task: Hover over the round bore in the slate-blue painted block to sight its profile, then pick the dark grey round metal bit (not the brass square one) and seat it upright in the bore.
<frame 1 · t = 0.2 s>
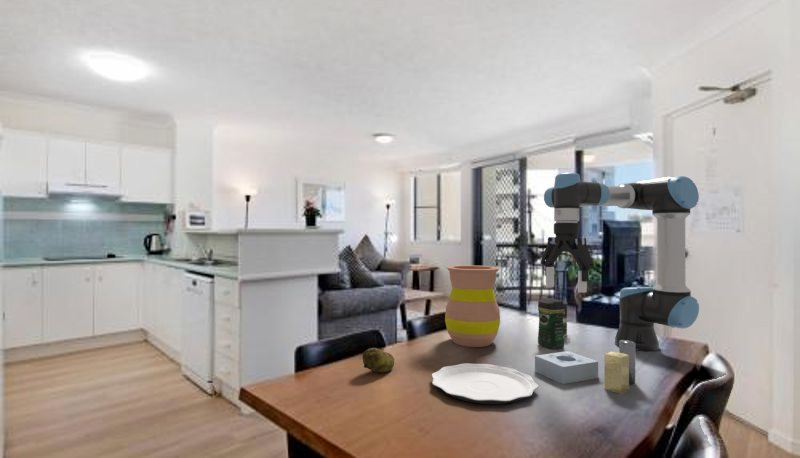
hand: (565, 289, 133), 26 cm above the table, fingers open, 13 cm apart
plate: (483, 388, 120), on the table
coffee jar: (550, 346, 163), on the table
bore block: (565, 374, 131), on the table
square bit: (616, 389, 119), on the table
vase: (472, 342, 169), on the table
round bit: (627, 382, 124), on the table
coffee can: (554, 334, 183), on the table
potato: (379, 372, 132), on the table
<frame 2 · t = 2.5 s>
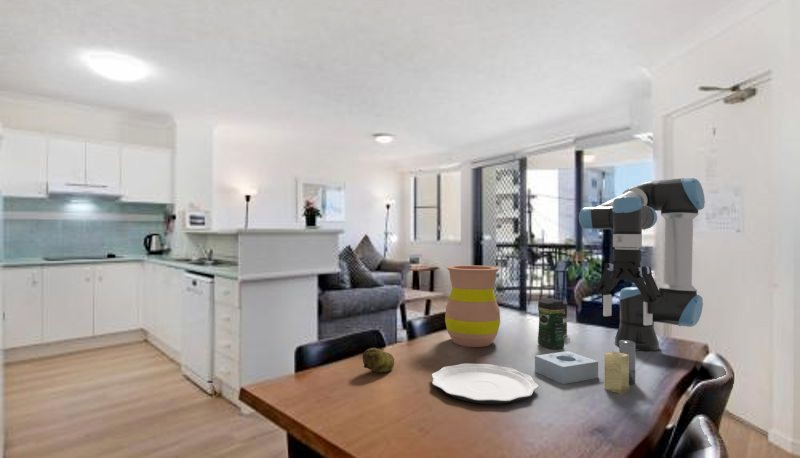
hand: (626, 320, 125), 18 cm above the table, fingers open, 13 cm apart
nothing on the table moved.
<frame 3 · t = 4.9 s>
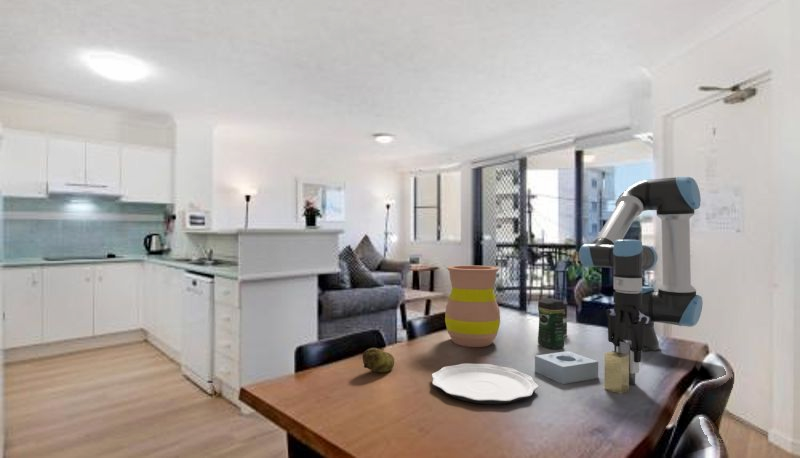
hand: (627, 369, 124), 4 cm above the table, fingers closed on round bit, 4 cm apart
round bit: (627, 382, 124), on the table, touching gripper
everything else where it was.
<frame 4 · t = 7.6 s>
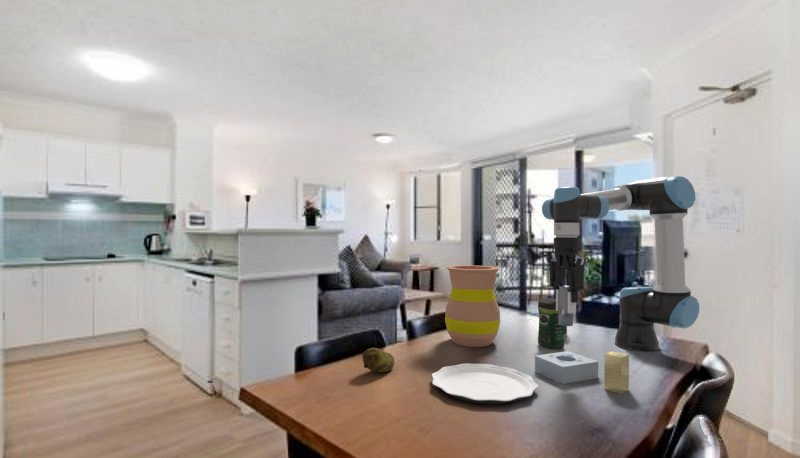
hand: (565, 311, 131), 20 cm above the table, fingers closed on round bit, 4 cm apart
round bit: (565, 324, 131), point 16 cm above the table, touching gripper
everything else where it was.
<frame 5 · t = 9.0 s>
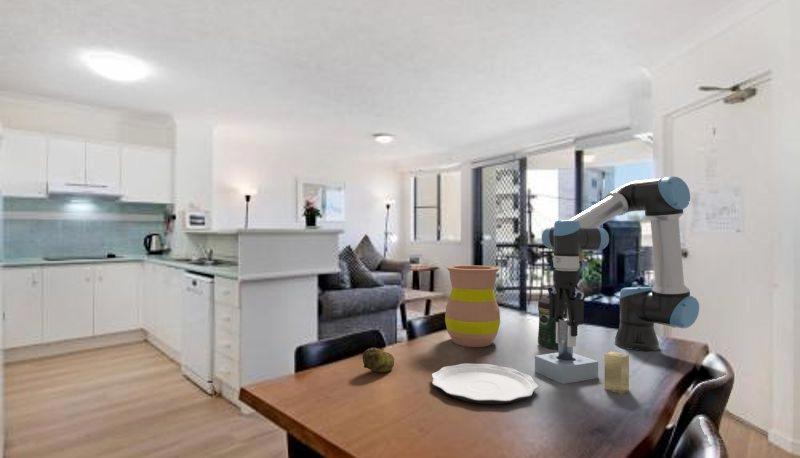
hand: (565, 344, 131), 9 cm above the table, fingers closed on round bit, 4 cm apart
round bit: (565, 358, 131), point 5 cm above the table, touching gripper
everything else where it was.
when the fingers open (6 cm above the table, at t = 10.2 s): round bit drops 2 cm, on the table.
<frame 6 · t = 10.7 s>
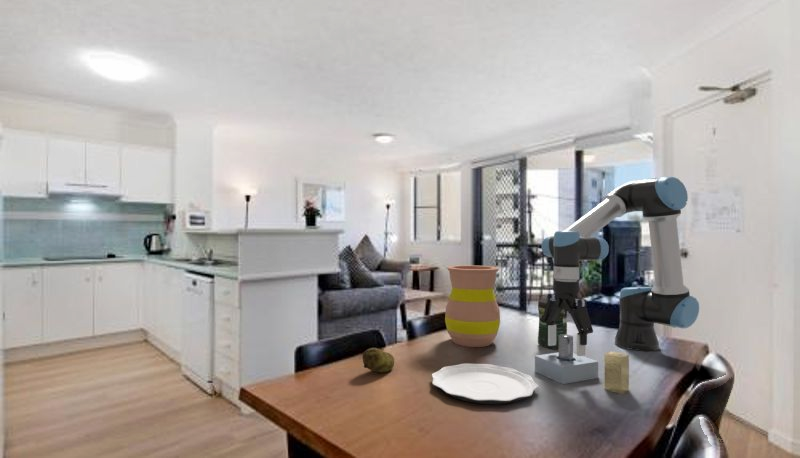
hand: (565, 350, 131), 8 cm above the table, fingers open, 11 cm apart
round bit: (565, 374, 131), on the table
everything else where it was.
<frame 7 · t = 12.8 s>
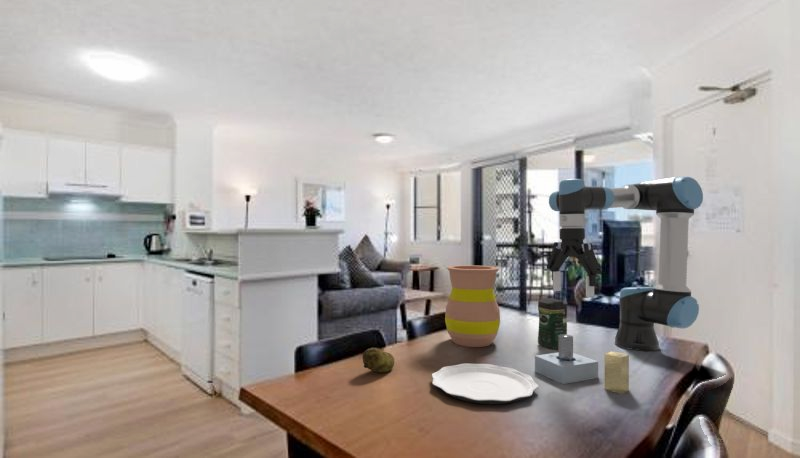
hand: (572, 293, 135), 25 cm above the table, fingers open, 13 cm apart
nothing on the table moved.
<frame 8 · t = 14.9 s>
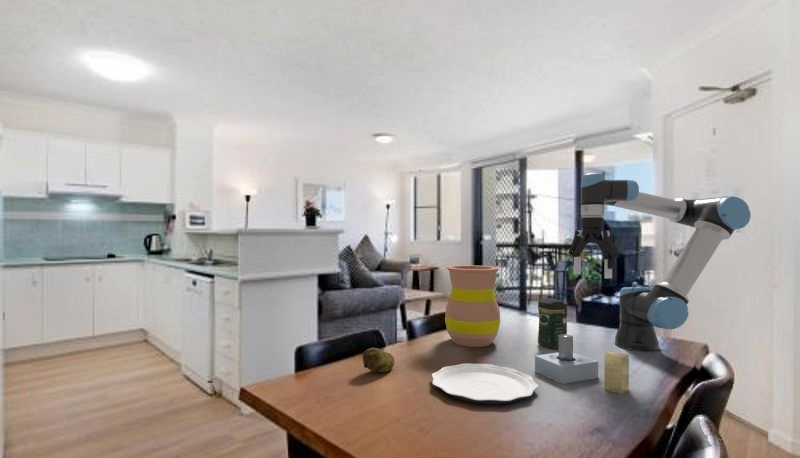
hand: (592, 276, 150), 29 cm above the table, fingers open, 13 cm apart
nothing on the table moved.
at the end: round bit 0.0 cm off-centre on the bore block, point 0.0 cm above the bore block's base; round bit tilted 0°; the gripper is holding nothing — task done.
